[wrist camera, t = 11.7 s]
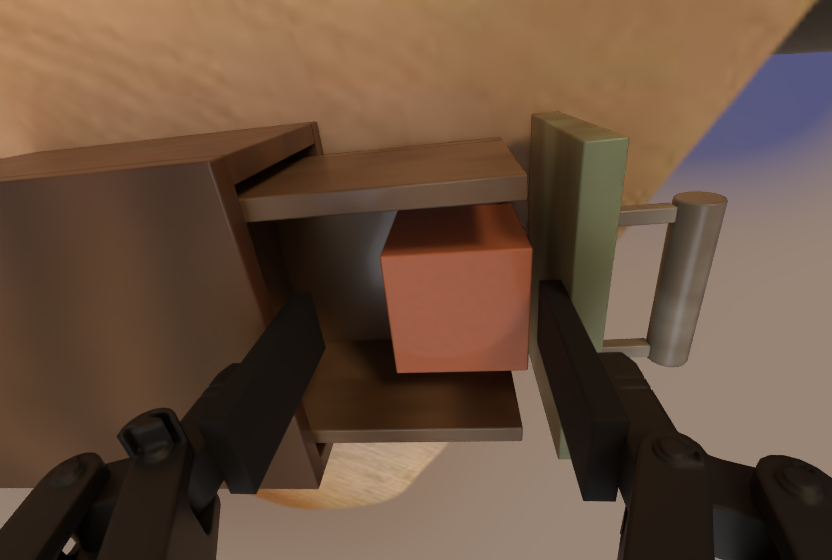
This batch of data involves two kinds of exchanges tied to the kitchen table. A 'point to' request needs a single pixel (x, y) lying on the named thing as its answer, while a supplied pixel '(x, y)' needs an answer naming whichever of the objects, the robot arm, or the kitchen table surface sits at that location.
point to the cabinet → (132, 293)
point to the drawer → (456, 187)
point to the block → (458, 289)
